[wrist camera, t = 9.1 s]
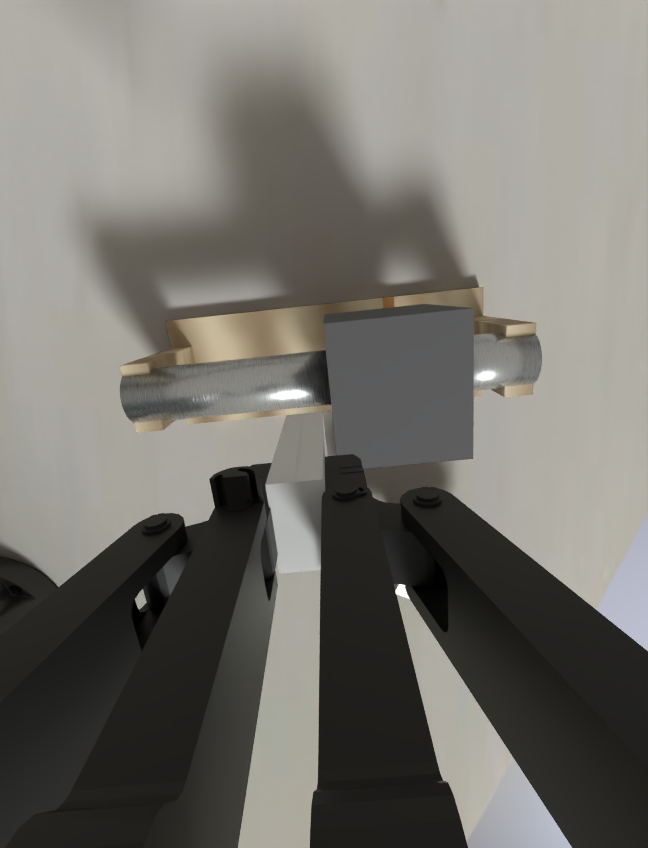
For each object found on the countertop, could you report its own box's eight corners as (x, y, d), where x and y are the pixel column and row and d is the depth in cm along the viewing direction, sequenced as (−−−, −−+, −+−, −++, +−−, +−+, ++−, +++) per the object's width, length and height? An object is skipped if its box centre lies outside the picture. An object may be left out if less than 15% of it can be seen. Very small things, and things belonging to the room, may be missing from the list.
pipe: (151, 415, 33) (128, 430, 29) (139, 366, 32) (114, 375, 28) (514, 379, 32) (540, 390, 28) (516, 327, 31) (543, 331, 27)
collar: (334, 416, 35) (338, 471, 25) (324, 314, 33) (323, 323, 22) (427, 407, 35) (473, 458, 24) (424, 303, 33) (473, 308, 22)
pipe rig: (190, 421, 42) (144, 463, 31) (169, 320, 39) (110, 329, 28) (478, 393, 41) (531, 427, 30) (479, 287, 38) (538, 284, 27)
